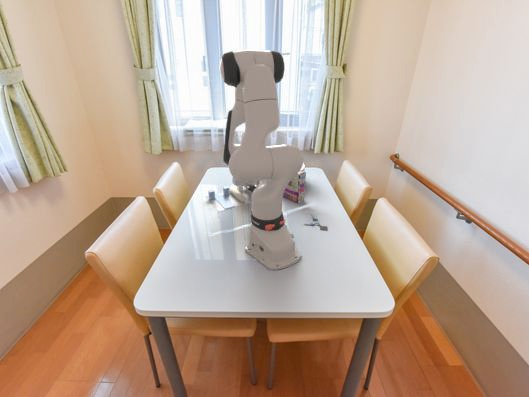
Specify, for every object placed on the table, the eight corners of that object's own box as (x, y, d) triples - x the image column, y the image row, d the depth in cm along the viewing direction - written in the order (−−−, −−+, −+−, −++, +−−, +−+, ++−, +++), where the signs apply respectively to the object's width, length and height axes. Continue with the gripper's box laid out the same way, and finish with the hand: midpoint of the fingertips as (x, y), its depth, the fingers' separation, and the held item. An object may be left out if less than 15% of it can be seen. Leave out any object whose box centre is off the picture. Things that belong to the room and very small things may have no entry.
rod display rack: (269, 198, 138) (269, 189, 135) (219, 213, 125) (218, 203, 122) (252, 186, 151) (252, 177, 148) (205, 198, 138) (204, 188, 136)
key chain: (330, 230, 113) (331, 228, 113) (315, 235, 110) (315, 233, 109) (311, 215, 124) (311, 213, 124) (296, 219, 121) (296, 217, 120)
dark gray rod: (261, 196, 135) (261, 189, 133) (255, 197, 133) (255, 191, 131) (247, 185, 147) (247, 179, 145) (241, 186, 145) (241, 180, 144)
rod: (246, 201, 133) (246, 195, 131) (240, 203, 131) (240, 197, 130) (234, 191, 143) (233, 185, 142) (228, 192, 142) (228, 187, 140)
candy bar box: (304, 201, 135) (306, 171, 127) (297, 205, 132) (299, 174, 124) (288, 194, 142) (289, 165, 134) (281, 197, 139) (282, 168, 131)
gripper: (234, 170, 126) (236, 196, 132) (271, 162, 135) (271, 187, 141) (229, 166, 130) (231, 191, 137) (264, 159, 140) (264, 183, 146)
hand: (251, 189), depth 139 cm, fingers closed on dark gray rod, 4 cm apart
